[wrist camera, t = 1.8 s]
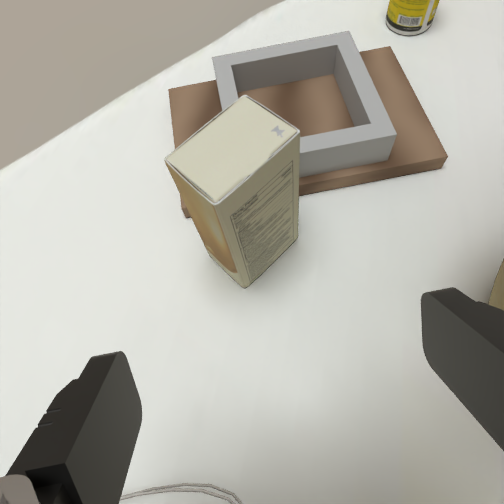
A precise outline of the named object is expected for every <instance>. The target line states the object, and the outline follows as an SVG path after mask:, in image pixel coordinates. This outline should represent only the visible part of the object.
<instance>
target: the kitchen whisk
mask: <svg viewBox="0 0 504 504" xmlns="http://www.w3.org/2000/svg"><path fill="white" fill-rule="evenodd" d="M179 486H199V487H212V488H214V489H217V490H220V491H222V492H225V493H227V494H230V495H232V496H233V497H234V498H235V499H236V500H237V501H238V503H239V504H243V503H242V502H241V501H240V500H239V499H238V498H237V496H236V495H235V494H234V493H232V492H229V491H227V490H224V489H222V488H219V487H217V486H214V485H211V484H190V483H182V484H175V485H168V486H161V487H154V488H150V489H146V490H142V491H139V492H135V493H131V494H127V495H123V496H121V497H120V500H124V499H127V498H131V497H135V496H141V495H148V494H155V493H162V492H169V491H180V492H203V493H206V494H209V495H212V496H215V497H219V498H222V499H225V500H228V501H229V502H230V503H231V504H235V503H234V502H233V501H232V500H231V499H230V498H228V497H225V496H222V495H219V494H216V493H213V492H210V491H206V490H203V489H180V488H172V487H179ZM165 488H169V489H165ZM158 489H162V490H158ZM152 490H155V491H152Z"/></svg>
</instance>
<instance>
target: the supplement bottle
mask: <svg viewBox="0 0 504 504" xmlns="http://www.w3.org/2000/svg"><path fill="white" fill-rule="evenodd" d="M438 3H439V0H390V2H389V6H388V11H387V15H386V23H387V26H388V27H389V28H390V29H391V30H393V31H394V32H396V33H398V34H402V35H416V34H419V33H422V32H424V31H425V30H427V29H428V28H429V27H430V25H431V24H432V21H433V18H434V15H435V12H436V9H437V6H438Z"/></svg>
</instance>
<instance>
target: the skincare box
mask: <svg viewBox="0 0 504 504" xmlns="http://www.w3.org/2000/svg"><path fill="white" fill-rule="evenodd" d="M164 161H165V163H166V165H167V167H168V169H169V171H170V173H171V176H172V178H173V180H174V182H175V184H176V186H177V188H178V190H179V193H180V195H181V197H182V199H183V201H184V203H185V205H186V207H187V209H188V211H189V214H190V216H191V218H192V220H193V222H194V224H195V226H196V228H197V230H198V232H199V234H200V237H201V239H202V241H203V243H204V245H205V247H206V249H207V251H208V253H209V255H210V257H211V258H212V259H213V260H214V261H215V262H216V263H217V264H218V265H219V266H220V267H221V268H222V269H223V270H224V271H225V272H226V273H227V274H229V275H230V276H231V277H232V278H233V279H234V280H235V281H236V282H237V283H238V284H239V285H240V286H241V287H243V288H246V287H248V286H249V285H250V284H251V283H252V282H253V281H254V280H255V279H256V278H258V277H259V276H260V275H261V274H262V273H263V272H264V271H265V270H266V269H267V268H268V267H269V266H270V265H271V264H272V263H273V262H274V261H275V260H276V259H277V258H278V257H279V256H280V255H281V254H282V253H283V252H284V251H285V250H286V249H287V248H288V247H289V246H290V245H291V244H292V243H293V242H294V241H295V240H296V239H297V238H298V208H299V163H300V130H299V129H297V128H296V127H294V126H293V125H291V124H290V123H288V122H287V121H286V120H284V119H283V118H281V117H280V116H278V115H277V114H275V113H274V112H272V111H271V110H269V109H268V108H266V107H265V106H263V105H262V104H260V103H259V102H257V101H255V100H253V99H252V98H250V97H249V96H247V95H243V96H241V97H240V98H239V99H237V100H236V101H234V102H233V103H232V104H231V105H229V106H228V107H227V108H225V109H224V110H223V111H221V112H220V113H219V114H218V115H216V116H215V117H214V118H212V119H211V120H210V121H209V122H208V123H206V124H205V125H204V126H203V127H201V128H200V129H199V130H198V131H197V132H195V133H194V134H193V135H192V136H190V137H189V138H188V139H187V140H186V141H184V142H183V143H182V144H181V145H180V146H179V147H177V148H176V149H175V150H174V151H173V152H172V153H170V154H169V155H168V156H167V157H165V159H164Z"/></svg>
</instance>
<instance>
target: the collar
mask: <svg viewBox="0 0 504 504" xmlns="http://www.w3.org/2000/svg"><path fill="white" fill-rule="evenodd" d="M212 60H213V65H214V70H215V76H216V81H217V86H218V91H219V96H220V101H221V106H222V111H223V110H224V109H225V108H227V107H228V106H229V105H231V104H232V103H233V102H234V101H236V100H237V99H238V94H237V92H243V91H248V90H253V89H258V88H263V87H268V86H274V85H279V84H284V83H289V82H294V81H299V80H305V79H310V78H315V77H320V76H325V75H330V74H334V76H335V79H336V81H337V84H338V86H339V89H340V91H341V94H342V96H343V99H344V101H345V104H346V106H347V109H348V111H349V114H350V116H351V119H352V121H353V124H354V126H355V127H351V128H346V129H341V130H336V131H330V132H325V133H320V134H315V135H310V136H305V137H300V163H299V178H300V177H305V176H310V175H316V174H321V173H326V172H331V171H336V170H341V169H346V168H352V167H357V166H362V165H367V164H372V163H377V162H382V161H387V160H388V158H389V155H390V152H391V149H392V147H393V144H394V141H395V138H396V136H397V133H396V131H395V129H394V127H393V125H392V123H391V120H390V118H389V116H388V114H387V112H386V110H385V107H384V105H383V103H382V101H381V99H380V97H379V94H378V92H377V90H376V88H375V86H374V84H373V81H372V79H371V77H370V75H369V73H368V71H367V68H366V66H365V64H364V62H363V60H362V58H361V55H360V53H359V51H358V49H357V47H356V45H355V42H354V40H353V38H352V36H351V34H350V32H349V31H345V32H340V33H335V34H330V35H325V36H319V37H314V38H309V39H304V40H299V41H294V42H288V43H283V44H278V45H273V46H268V47H263V48H257V49H252V50H247V51H242V52H237V53H232V54H226V55H221V56H216V57H212Z"/></svg>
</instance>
